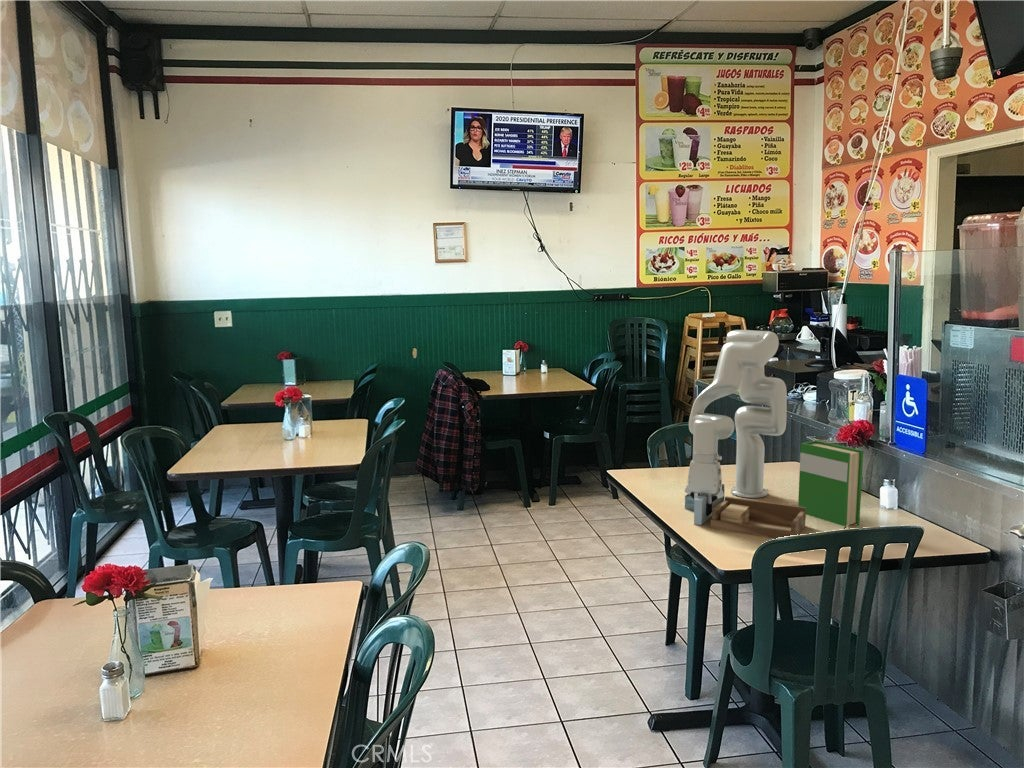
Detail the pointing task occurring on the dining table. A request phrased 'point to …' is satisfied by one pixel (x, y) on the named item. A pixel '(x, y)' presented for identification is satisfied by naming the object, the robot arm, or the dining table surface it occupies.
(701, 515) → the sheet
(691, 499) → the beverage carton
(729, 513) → the offcut
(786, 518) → the tray
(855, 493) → the hardback book
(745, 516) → the offcut
